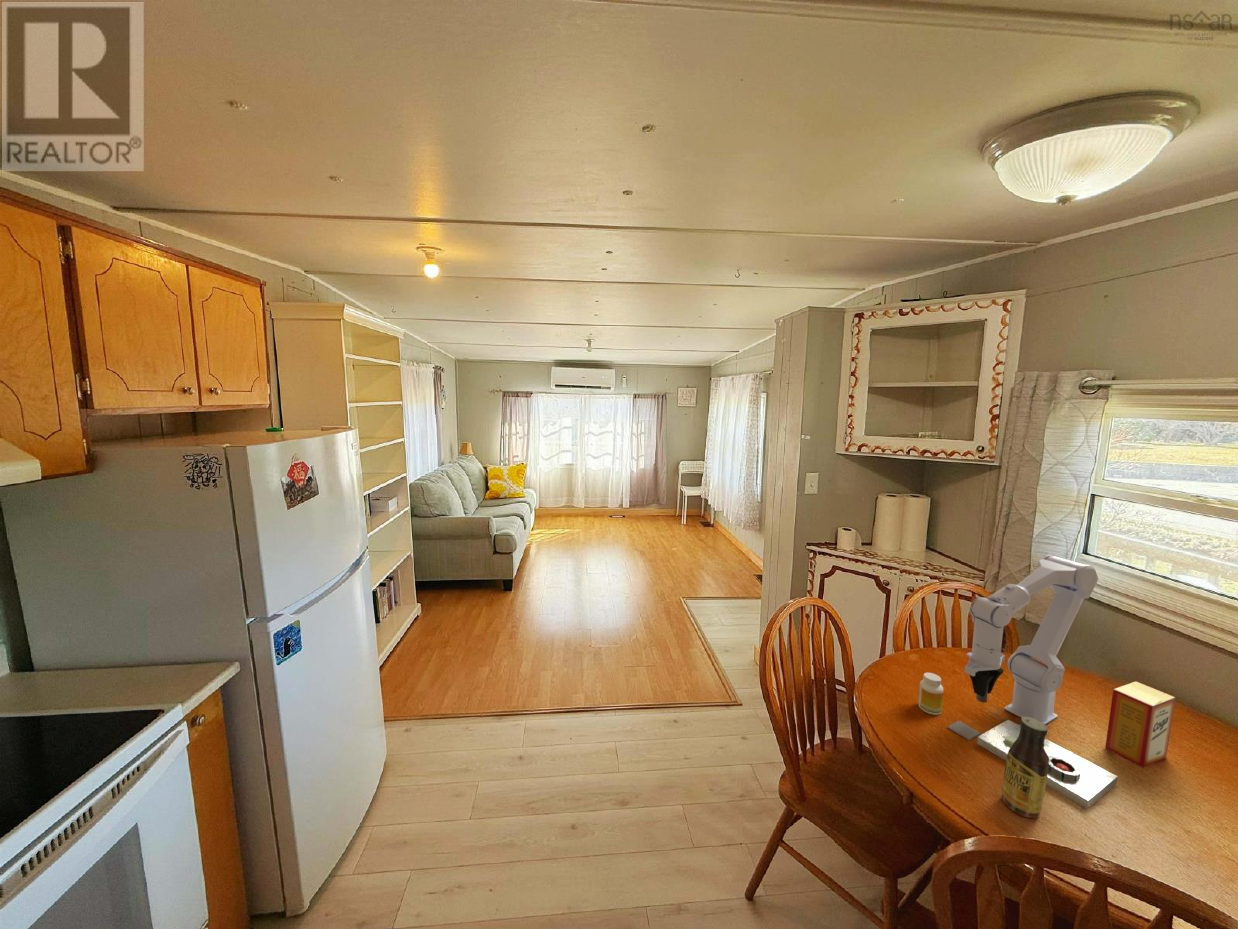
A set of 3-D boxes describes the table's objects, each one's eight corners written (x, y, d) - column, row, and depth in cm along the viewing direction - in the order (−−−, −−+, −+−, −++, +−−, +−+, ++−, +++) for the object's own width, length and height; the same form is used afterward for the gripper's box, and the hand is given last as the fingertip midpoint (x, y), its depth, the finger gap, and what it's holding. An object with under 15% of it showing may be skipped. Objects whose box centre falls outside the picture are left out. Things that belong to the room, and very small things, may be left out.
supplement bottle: (945, 716, 120) (948, 683, 119) (923, 714, 121) (926, 681, 120) (935, 703, 126) (938, 672, 124) (914, 701, 127) (917, 670, 125)
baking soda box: (1127, 738, 112) (1136, 679, 110) (1166, 757, 106) (1175, 695, 104) (1105, 748, 109) (1113, 687, 107) (1143, 768, 103) (1152, 704, 101)
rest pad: (958, 722, 118) (958, 720, 118) (980, 734, 114) (980, 733, 114) (947, 727, 116) (947, 726, 116) (969, 740, 112) (969, 739, 112)
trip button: (1057, 769, 101) (1058, 762, 101) (1069, 775, 99) (1070, 768, 99) (1053, 772, 100) (1054, 765, 100) (1065, 779, 98) (1066, 771, 98)
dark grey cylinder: (979, 696, 118) (981, 668, 117) (988, 701, 116) (991, 672, 115) (974, 698, 118) (977, 670, 117) (984, 703, 116) (986, 675, 115)
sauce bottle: (993, 795, 96) (1002, 711, 93) (1019, 793, 96) (1029, 709, 94) (1022, 823, 89) (1033, 734, 87) (1051, 821, 90) (1062, 731, 87)
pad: (1009, 741, 109) (1010, 735, 109) (1021, 748, 107) (1022, 741, 107) (1004, 745, 108) (1004, 738, 108) (1016, 751, 106) (1017, 745, 106)
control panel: (1007, 726, 116) (1008, 714, 116) (1116, 784, 98) (1118, 770, 98) (977, 744, 110) (978, 731, 110) (1087, 809, 92) (1089, 794, 92)
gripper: (984, 631, 122) (980, 677, 123) (953, 643, 116) (949, 692, 117) (1016, 643, 115) (1011, 691, 117) (984, 657, 109) (980, 708, 111)
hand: (982, 693), depth 117 cm, fingers closed on dark grey cylinder, 2 cm apart
